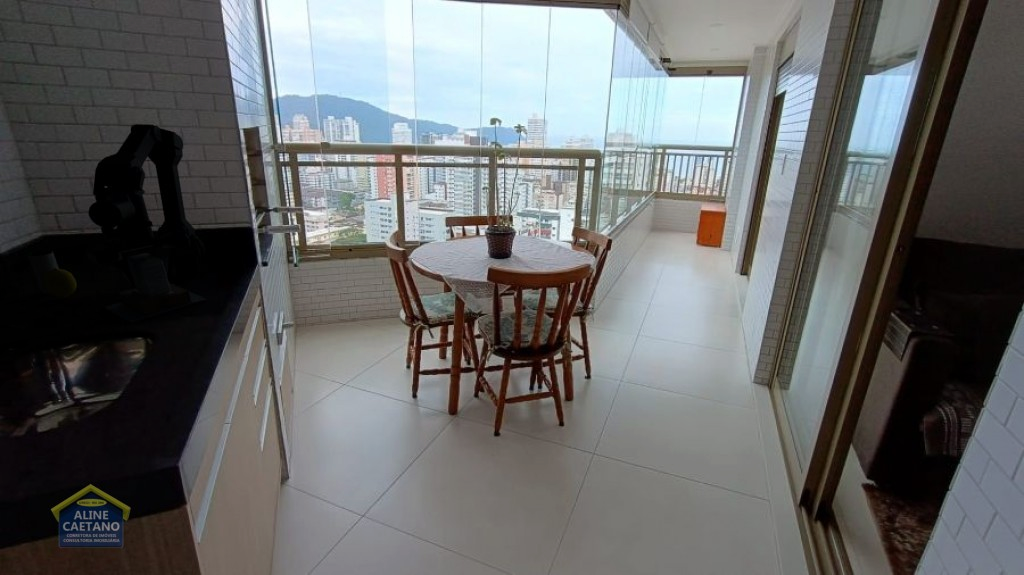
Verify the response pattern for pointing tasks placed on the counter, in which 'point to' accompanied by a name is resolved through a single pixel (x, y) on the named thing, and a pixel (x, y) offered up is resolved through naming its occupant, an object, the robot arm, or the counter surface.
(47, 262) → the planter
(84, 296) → the counter surface
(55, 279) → the lemon
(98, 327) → the counter surface
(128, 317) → the blueprint mat
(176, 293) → the plinth
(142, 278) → the medicine box
